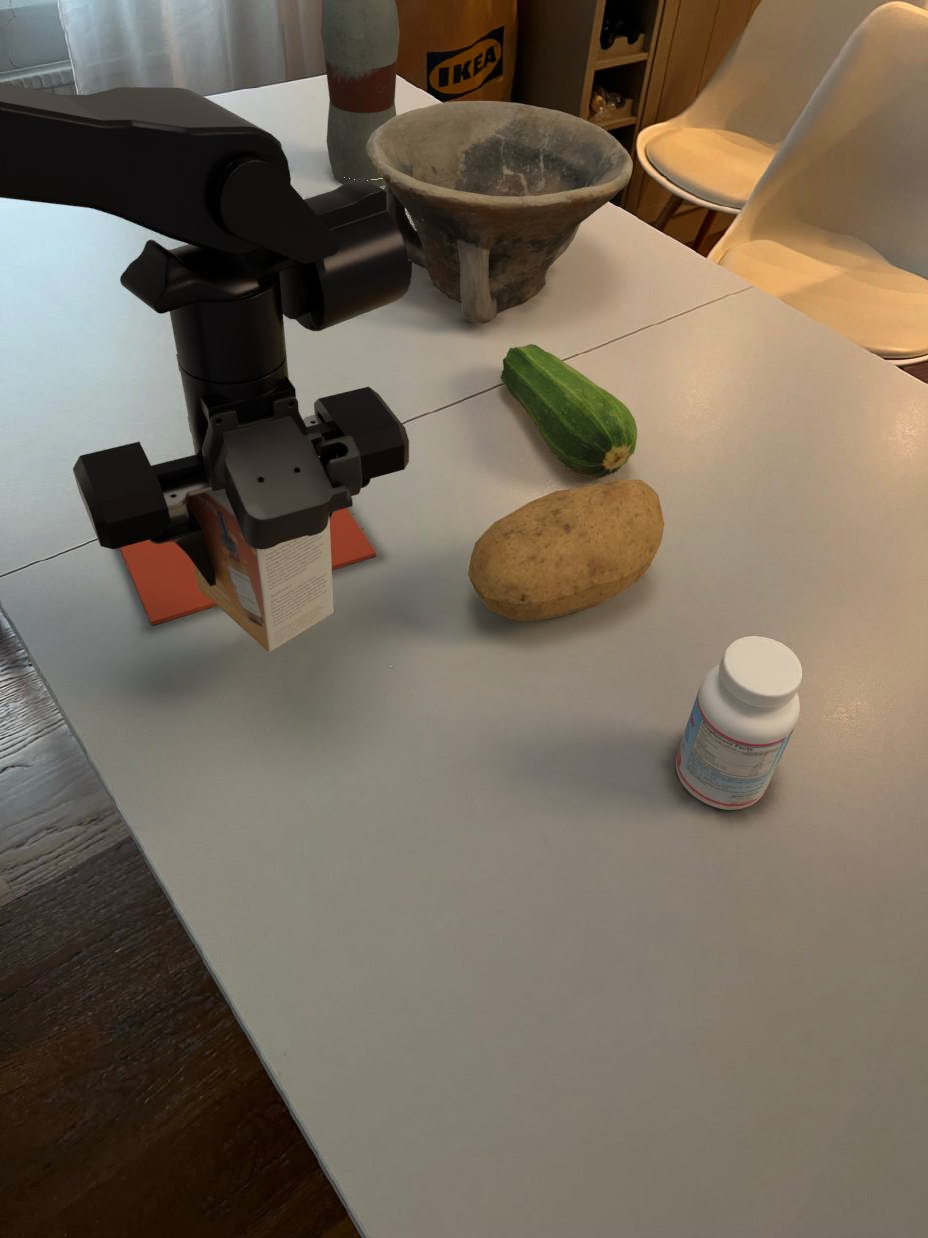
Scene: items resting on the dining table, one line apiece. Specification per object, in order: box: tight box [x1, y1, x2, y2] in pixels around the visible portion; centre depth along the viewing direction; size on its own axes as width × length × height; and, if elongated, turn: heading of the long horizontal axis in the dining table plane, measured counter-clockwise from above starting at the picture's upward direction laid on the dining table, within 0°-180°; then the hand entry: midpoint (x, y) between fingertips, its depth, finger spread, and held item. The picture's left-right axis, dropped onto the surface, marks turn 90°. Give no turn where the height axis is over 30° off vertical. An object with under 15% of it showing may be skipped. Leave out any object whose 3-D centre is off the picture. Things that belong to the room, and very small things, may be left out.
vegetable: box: [499, 343, 638, 479], centre depth 90 cm, size 7×7×20 cm
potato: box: [467, 478, 665, 622], centre depth 74 cm, size 9×16×9 cm, turn 113°
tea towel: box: [119, 508, 377, 626], centre depth 81 cm, size 18×14×1 cm
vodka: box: [320, 0, 401, 187], centre depth 119 cm, size 9×9×30 cm
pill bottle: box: [675, 635, 803, 811], centre depth 62 cm, size 6×6×11 cm
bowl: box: [366, 100, 634, 324], centre depth 106 cm, size 27×26×15 cm
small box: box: [187, 489, 335, 653], centre depth 64 cm, size 8×6×10 cm
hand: (261, 567), depth 65 cm, fingers closed on small box, 6 cm apart
